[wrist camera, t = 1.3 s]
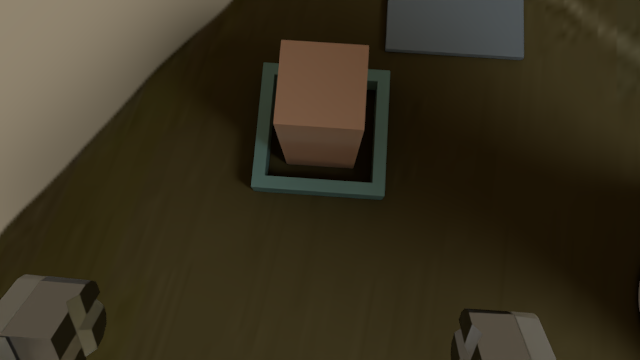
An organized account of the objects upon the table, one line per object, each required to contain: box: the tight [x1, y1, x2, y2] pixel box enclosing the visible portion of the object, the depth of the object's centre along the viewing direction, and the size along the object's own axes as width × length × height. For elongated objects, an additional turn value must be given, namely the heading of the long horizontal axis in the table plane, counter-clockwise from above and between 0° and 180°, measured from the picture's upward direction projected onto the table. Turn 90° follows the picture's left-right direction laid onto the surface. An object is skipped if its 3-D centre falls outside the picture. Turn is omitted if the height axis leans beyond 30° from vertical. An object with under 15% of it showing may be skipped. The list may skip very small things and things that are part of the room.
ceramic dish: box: [251, 62, 390, 200], centre depth 39 cm, size 11×11×3 cm
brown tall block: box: [273, 40, 369, 169], centre depth 35 cm, size 6×6×11 cm
